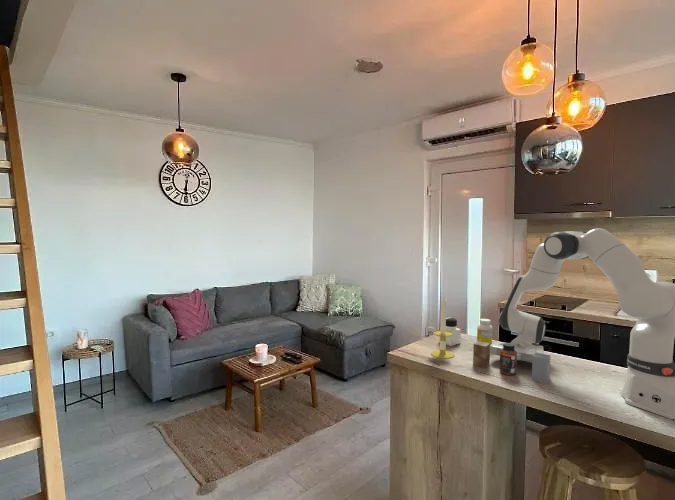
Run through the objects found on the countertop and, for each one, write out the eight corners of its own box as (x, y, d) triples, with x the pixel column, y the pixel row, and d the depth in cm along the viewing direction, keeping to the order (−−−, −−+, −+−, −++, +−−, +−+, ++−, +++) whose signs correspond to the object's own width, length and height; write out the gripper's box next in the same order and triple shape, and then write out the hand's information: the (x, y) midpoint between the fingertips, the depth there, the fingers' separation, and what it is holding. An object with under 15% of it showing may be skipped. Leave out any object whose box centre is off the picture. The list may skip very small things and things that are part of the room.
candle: (458, 355, 170) (460, 294, 168) (446, 360, 164) (447, 297, 162) (439, 349, 178) (440, 291, 176) (426, 354, 171) (427, 294, 169)
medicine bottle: (460, 343, 186) (461, 319, 185) (450, 346, 182) (451, 321, 182) (449, 339, 192) (449, 316, 191) (439, 342, 188) (439, 318, 188)
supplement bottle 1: (477, 343, 186) (478, 317, 185) (492, 345, 183) (493, 318, 182) (476, 347, 180) (476, 320, 179) (491, 349, 177) (492, 322, 176)
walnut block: (489, 364, 159) (490, 343, 158) (485, 368, 155) (486, 346, 154) (477, 362, 162) (477, 341, 161) (472, 365, 158) (473, 343, 158)
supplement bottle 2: (517, 376, 147) (518, 347, 146) (500, 375, 148) (501, 346, 148) (514, 370, 153) (515, 342, 152) (498, 369, 154) (499, 341, 153)
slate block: (549, 378, 145) (550, 355, 144) (546, 383, 141) (547, 359, 140) (534, 375, 148) (535, 352, 147) (531, 379, 144) (532, 356, 144)
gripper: (495, 337, 169) (484, 344, 159) (547, 346, 156) (539, 355, 146) (494, 351, 170) (483, 359, 159) (546, 361, 157) (538, 372, 146)
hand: (510, 358), depth 152 cm, fingers closed, pressing on supplement bottle 2
